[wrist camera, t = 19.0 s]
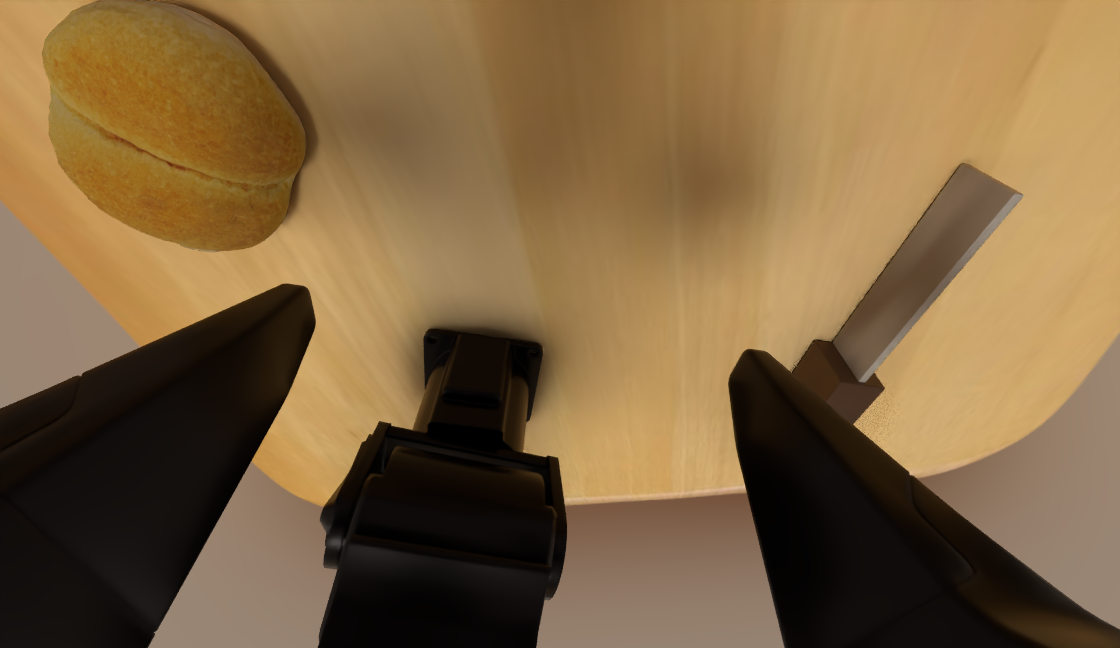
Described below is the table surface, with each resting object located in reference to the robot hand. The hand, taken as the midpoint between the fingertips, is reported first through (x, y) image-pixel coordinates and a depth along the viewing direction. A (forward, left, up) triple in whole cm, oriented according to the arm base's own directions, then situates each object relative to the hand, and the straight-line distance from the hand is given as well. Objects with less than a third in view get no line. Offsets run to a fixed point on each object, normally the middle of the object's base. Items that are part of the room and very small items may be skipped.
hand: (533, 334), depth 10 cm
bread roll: (-2, +14, -12) cm, 19 cm away
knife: (-8, -17, -12) cm, 22 cm away
